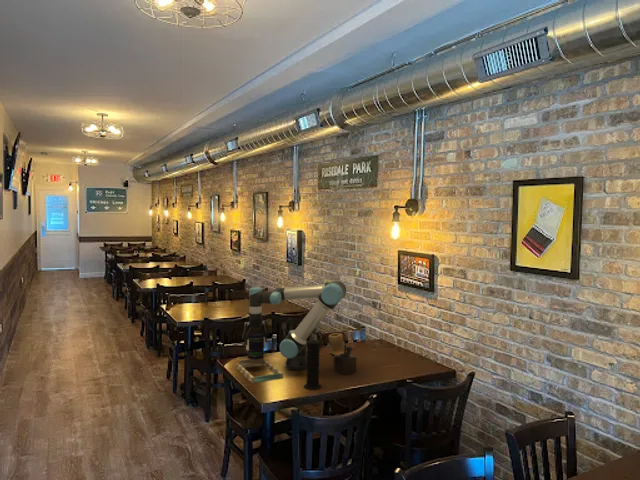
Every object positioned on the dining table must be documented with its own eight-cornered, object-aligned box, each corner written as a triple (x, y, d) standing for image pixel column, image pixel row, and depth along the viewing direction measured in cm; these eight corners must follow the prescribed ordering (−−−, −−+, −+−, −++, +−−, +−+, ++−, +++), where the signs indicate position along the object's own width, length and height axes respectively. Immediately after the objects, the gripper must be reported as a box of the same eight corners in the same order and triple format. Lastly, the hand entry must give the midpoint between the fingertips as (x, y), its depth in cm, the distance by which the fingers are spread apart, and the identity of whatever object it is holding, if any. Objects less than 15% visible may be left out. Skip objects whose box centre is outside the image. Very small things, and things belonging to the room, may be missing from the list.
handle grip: (320, 383, 269) (303, 383, 268) (321, 337, 268) (303, 337, 267) (322, 390, 259) (304, 390, 258) (323, 342, 258) (304, 342, 257)
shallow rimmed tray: (236, 368, 293) (236, 360, 293) (265, 364, 302) (265, 356, 302) (252, 383, 268) (252, 374, 267) (283, 378, 276) (283, 370, 276)
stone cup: (325, 353, 327) (325, 332, 326) (339, 351, 333) (340, 330, 332) (336, 359, 314) (337, 337, 313) (351, 357, 320) (352, 335, 319)
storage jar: (261, 354, 297) (261, 330, 296) (265, 358, 288) (265, 334, 287) (246, 355, 293) (245, 332, 293) (249, 360, 284) (249, 335, 283)
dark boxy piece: (331, 370, 292) (332, 341, 291) (345, 367, 298) (346, 339, 297) (347, 377, 279) (348, 347, 278) (362, 374, 286) (362, 345, 285)
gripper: (270, 310, 298) (270, 345, 299) (235, 313, 287) (236, 349, 288) (274, 312, 291) (275, 347, 292) (239, 315, 281) (240, 352, 282)
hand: (255, 348), depth 290 cm, fingers closed on storage jar, 10 cm apart
